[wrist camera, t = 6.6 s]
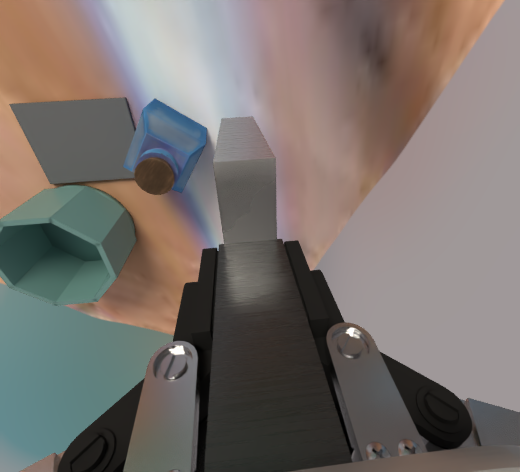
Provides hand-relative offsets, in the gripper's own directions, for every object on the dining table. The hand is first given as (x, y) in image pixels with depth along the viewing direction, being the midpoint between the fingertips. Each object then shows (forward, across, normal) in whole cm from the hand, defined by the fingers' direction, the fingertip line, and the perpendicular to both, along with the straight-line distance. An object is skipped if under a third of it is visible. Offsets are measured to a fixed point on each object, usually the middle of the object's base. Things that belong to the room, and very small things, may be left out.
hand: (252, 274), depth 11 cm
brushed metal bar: (+10, 0, 0) cm, 10 cm away
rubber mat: (+26, +18, 0) cm, 31 cm away
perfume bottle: (+25, +8, 0) cm, 27 cm away
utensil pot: (+26, +22, +11) cm, 35 cm away
